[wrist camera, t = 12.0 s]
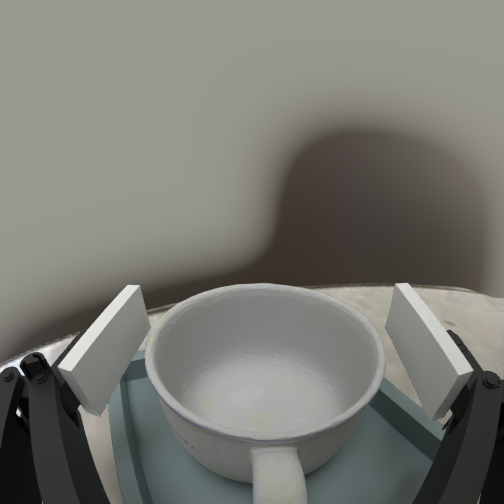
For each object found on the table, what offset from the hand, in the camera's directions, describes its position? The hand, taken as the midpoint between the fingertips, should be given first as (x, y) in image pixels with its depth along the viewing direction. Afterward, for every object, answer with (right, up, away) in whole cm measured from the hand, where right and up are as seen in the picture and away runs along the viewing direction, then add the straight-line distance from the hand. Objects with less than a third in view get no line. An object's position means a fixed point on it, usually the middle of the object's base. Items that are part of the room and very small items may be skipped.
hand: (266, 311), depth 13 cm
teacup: (0, -9, 0) cm, 9 cm away
